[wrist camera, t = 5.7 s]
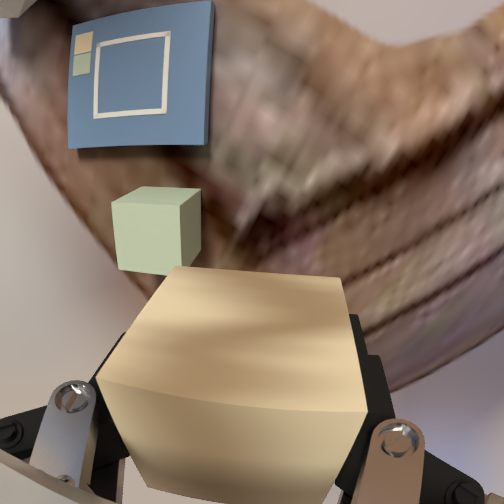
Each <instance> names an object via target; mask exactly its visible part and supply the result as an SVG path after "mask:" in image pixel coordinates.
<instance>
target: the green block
mask: <svg viewBox="0 0 504 504" xmlns="http://www.w3.org/2000/svg"><path fill="white" fill-rule="evenodd" d="M112 215H113V226H114V236H115V245H116V253H117V261H118V268H119V269H120V270H128V271H135V272H143V273H151V274H158V275H166V276H168V274H169V273H170V272H171V270H172V269H173V268H174V266H186V267H190V265H191V264H192V262H193V261H194V259H195V258H196V256H197V255H198V253H199V252H200V251H201V189H191V188H168V187H140V188H138V189H136V190H134V191H132V192H130V193H129V194H127V195H125V196H123V197H121V198H119V199H117V200H115V201H113V202H112Z"/></svg>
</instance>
